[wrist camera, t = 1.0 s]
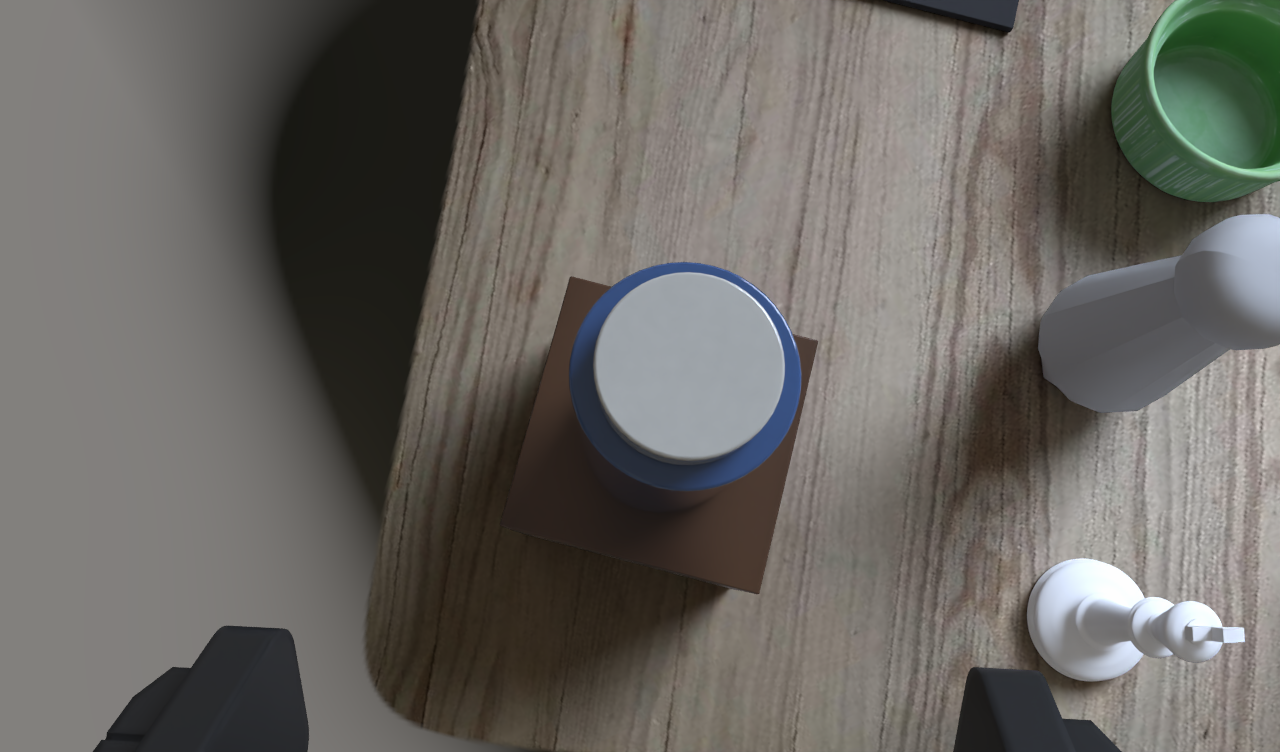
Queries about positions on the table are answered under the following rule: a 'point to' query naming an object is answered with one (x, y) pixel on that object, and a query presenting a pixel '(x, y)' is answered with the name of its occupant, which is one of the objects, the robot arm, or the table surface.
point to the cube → (598, 522)
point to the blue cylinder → (681, 384)
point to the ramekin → (1204, 100)
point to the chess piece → (1115, 623)
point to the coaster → (970, 10)
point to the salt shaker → (1164, 317)
